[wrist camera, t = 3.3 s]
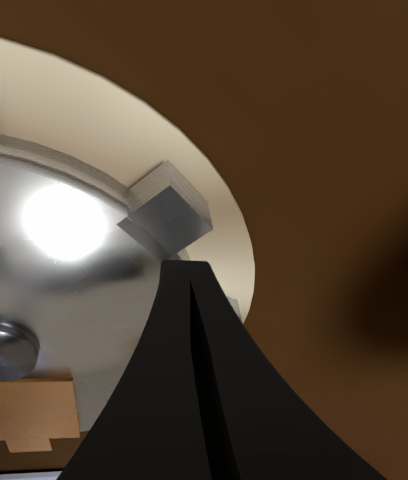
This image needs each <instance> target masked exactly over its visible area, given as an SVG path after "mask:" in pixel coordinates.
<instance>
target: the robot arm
mask: <svg viewBox="0 0 408 480" xmlns="http://www.w3.org/2000/svg"><path fill="white" fill-rule="evenodd" d="M0 480H387V479H386V478H385V477H383V476H382V475H381V474H380V473H379V472H378V471H376V470H375V469H374V468H373V467H372V466H371V465H369V464H368V463H367V462H366V461H365V460H364V459H362V458H361V457H360V456H359V455H358V454H357V453H356V452H354V451H353V450H352V449H351V448H350V447H349V446H348V445H347V444H346V443H345V442H344V441H343V440H341V439H340V438H339V437H338V436H337V435H336V434H335V433H334V432H333V431H332V430H331V429H330V428H329V427H328V426H327V425H326V424H325V423H324V422H323V421H322V420H321V419H320V418H319V417H318V416H317V415H316V414H315V413H314V412H313V411H312V410H311V409H310V408H309V406H308V405H307V404H306V403H305V402H304V401H303V400H302V399H301V398H300V397H299V396H298V395H297V394H296V393H295V392H294V390H293V389H292V388H291V387H290V386H289V385H288V384H287V382H286V381H285V380H284V379H283V378H282V377H281V375H280V374H279V373H278V372H277V370H276V369H275V368H274V367H273V365H272V364H271V363H270V362H269V360H268V359H267V358H266V356H265V355H264V354H263V352H262V351H261V350H260V348H259V347H258V346H257V344H256V343H255V341H254V340H253V338H252V337H251V336H250V334H249V333H248V331H247V330H246V328H245V327H244V325H243V323H242V322H241V320H240V319H239V317H238V315H237V314H236V312H235V311H234V309H233V307H232V306H231V304H230V302H229V300H228V299H227V297H226V295H225V293H224V291H223V290H222V288H221V286H220V284H219V282H218V280H217V278H216V276H215V274H214V272H213V270H212V267H211V265H210V264H209V263H208V262H207V261H189V260H164V261H162V262H161V267H160V278H159V285H158V289H157V292H156V296H155V299H154V302H153V305H152V308H151V311H150V314H149V317H148V320H147V322H146V325H145V327H144V330H143V332H142V334H141V337H140V339H139V342H138V344H137V346H136V348H135V350H134V353H133V355H132V357H131V359H130V361H129V363H128V365H127V367H126V369H125V371H124V373H123V375H122V376H121V378H120V380H119V382H118V384H117V386H116V387H115V389H114V391H113V393H112V395H111V396H110V398H109V400H108V402H107V403H106V405H105V407H104V408H103V410H102V412H101V413H100V415H99V417H98V418H97V420H96V421H95V423H94V424H93V426H92V427H91V429H90V431H89V432H88V434H87V435H86V437H85V438H84V440H83V441H82V443H81V445H80V446H79V448H78V449H77V451H76V452H75V454H74V455H73V457H72V458H71V460H70V461H69V462H68V464H67V465H66V466H65V468H64V469H63V471H51V472H32V473H13V474H0Z"/></svg>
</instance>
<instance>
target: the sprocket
mask: <svg viewBox="0 0 408 480" xmlns="http://www.w3.org/2000/svg"><path fill="white" fill-rule="evenodd" d="M212 230H213V226H212V221H211V216H210V210H209V205H208V201H207V200H206V199H205V198H204V197H203V196H202V195H201V194H200V193H199V192H198V191H197V189H196V188H195V187H194V186H193V185H192V184H191V183H190V182H189V181H188V180H187V179H186V178H185V177H184V176H183V174H182V173H181V172H180V171H179V170H178V169H177V168H176V167H175V166H174V165H173V164H172V163H171V162H170V160H169V159H168V160H167V161H165V162H164V163H163V164H161V165H160V166H159V167H157V168H156V169H155V170H153V171H152V172H151V173H150V174H148V175H147V176H146V177H144V178H143V179H142V180H140V181H139V182H138V183H136V184H135V185H134V186H132V187H131V188H128V187H127V186H125V185H124V184H122V183H120V182H119V181H117V180H116V179H114V178H113V177H111V176H110V175H108V174H106V173H105V172H103V171H101V170H99V169H97V168H95V167H93V166H91V165H89V164H87V163H85V162H83V161H81V160H79V159H77V158H75V157H73V156H71V155H68V154H65V153H62V152H60V151H57V150H54V149H52V148H49V147H46V146H43V145H41V144H38V143H35V142H31V141H27V140H23V139H19V138H15V137H11V136H7V135H3V134H0V440H5V441H6V444H7V446H8V449H9V451H10V452H31V451H52V448H53V443H54V438H77V437H80V434H81V432H82V431H88V430H90V429H91V427H92V426H93V424H94V423H95V421H96V420H97V418H98V417H99V415H100V413H101V412H102V410H103V408H104V407H105V405H106V403H107V402H108V400H109V398H110V396H111V395H112V393H113V391H114V389H115V387H116V386H117V384H118V382H119V380H120V378H121V376H122V375H123V373H124V371H125V369H126V367H127V365H128V363H129V361H130V359H131V357H132V355H133V353H134V350H135V348H136V346H137V344H138V342H139V339H140V337H141V334H142V332H143V330H144V327H145V325H146V322H147V320H148V317H149V314H150V311H151V308H152V305H153V302H154V299H155V296H156V292H157V289H158V285H159V278H160V267H161V262H162V261H164V260H189V261H191V259H190V257H189V254H188V252H187V250H186V247H187V246H189V245H190V244H192V243H193V242H195V241H196V240H198V239H199V238H201V237H202V236H204V235H205V234H207V233H209V232H210V231H212ZM228 300H229V302H230V304H231V306H232V307H233V309H234V311H235V312H236V314H237V315H238V317H239V319H240V320H241V322H242V319H241V314H240V310H239V305H238V301H237V299H228Z"/></svg>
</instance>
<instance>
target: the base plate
mask: <svg viewBox="0 0 408 480" xmlns="http://www.w3.org/2000/svg"><path fill="white" fill-rule="evenodd" d="M0 134H3V135H7V136H11V137H15V138H19V139H23V140H27V141H31V142H35V143H38V144H41V145H43V146H46V147H49V148H52V149H54V150H57V151H60V152H62V153H65V154H68V155H71V156H73V157H75V158H77V159H79V160H81V161H83V162H85V163H87V164H89V165H91V166H93V167H95V168H97V169H99V170H101V171H103V172H105V173H106V174H108V175H110V176H111V177H113V178H114V179H116V180H117V181H119V182H120V183H122V184H124V185H125V186H127V187H128V188H131V187H132V186H134V185H135V184H136V183H138V182H139V181H140V180H142V179H143V178H144V177H146V176H147V175H148V174H150V173H151V172H152V171H153V170H155V169H156V168H157V167H159V166H160V165H161V164H163V163H164V162H165V161H167V160H168V159H169V160H170V162H171V163H172V164H173V165H174V166H175V167H176V168H177V169H178V170H179V171H180V172H181V173H182V174H183V176H184V177H185V178H186V179H187V180H188V181H189V182H190V183H191V184H192V185H193V186H194V187H195V188H196V189H197V191H198V192H199V193H200V194H201V195H202V196H203V197H204V198H205V199H206V200H207V201H208V205H209V210H210V216H211V221H212V226H213V230H212V231H210V232H209V233H207V234H205V235H204V236H202V237H201V238H199V239H198V240H196V241H195V242H193V243H192V244H190V245H189V246H187V247H186V250H187V252H188V254H189V257H190V259H191V261H207V262H208V263H209V264H210V265H211V267H212V270H213V272H214V274H215V276H216V278H217V280H218V282H219V284H220V286H221V288H222V290H223V291H224V293H225V295H226V297H227V299H237V301H238V305H239V310H240V314H241V319H242V323H244V321H245V319H246V316H247V314H248V311H249V309H250V304H251V300H252V295H253V291H254V275H255V265H254V258H253V251H252V244H251V240H250V237H249V234H248V231H247V228H246V225H245V221H244V218H243V215H242V212H241V210H240V208H239V206H238V204H237V202H236V200H235V198H234V196H233V194H232V193H231V191H230V189H229V187H228V185H227V183H226V182H225V181H224V179H223V178H222V176H221V175H220V174H219V172H218V171H217V170H216V168H215V167H214V165H213V164H212V163H211V161H210V160H209V159H208V157H207V156H206V155H205V154H204V153H203V152H202V151H201V150H200V149H199V148H198V147H197V146H196V145H195V144H194V143H193V142H192V141H191V140H190V139H189V137H188V136H187V135H186V134H185V133H184V132H183V131H182V130H181V129H180V128H179V127H177V126H176V125H175V124H173V123H172V122H171V121H170V120H168V119H167V118H166V117H165V116H163V115H162V114H161V113H160V112H158V111H157V110H156V109H154V108H153V107H152V106H151V105H149V104H148V103H147V102H146V101H144V100H142V99H141V98H139V97H138V96H136V95H134V94H133V93H131V92H129V91H128V90H126V89H124V88H123V87H121V86H119V85H118V84H116V83H114V82H113V81H111V80H110V79H108V78H106V77H105V76H103V75H100V74H98V73H96V72H94V71H92V70H89V69H87V68H85V67H83V66H81V65H78V64H76V63H74V62H72V61H70V60H67V59H65V58H63V57H61V56H59V55H56V54H54V53H51V52H47V51H44V50H41V49H38V48H35V47H32V46H29V45H26V44H22V43H19V42H16V41H13V40H10V39H7V38H4V37H0Z"/></svg>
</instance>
